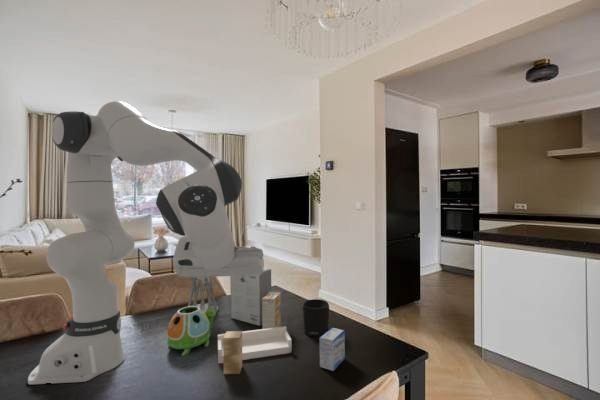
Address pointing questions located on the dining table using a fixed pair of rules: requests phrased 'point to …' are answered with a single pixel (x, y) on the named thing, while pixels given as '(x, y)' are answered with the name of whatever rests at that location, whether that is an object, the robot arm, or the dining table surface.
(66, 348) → the robot arm
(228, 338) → the oak blank
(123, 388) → the dining table surface
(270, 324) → the supplement box
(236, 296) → the hard drive box
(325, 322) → the pen holder
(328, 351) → the medicine box
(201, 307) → the vase
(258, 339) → the cream shelf
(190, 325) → the turtle holder
